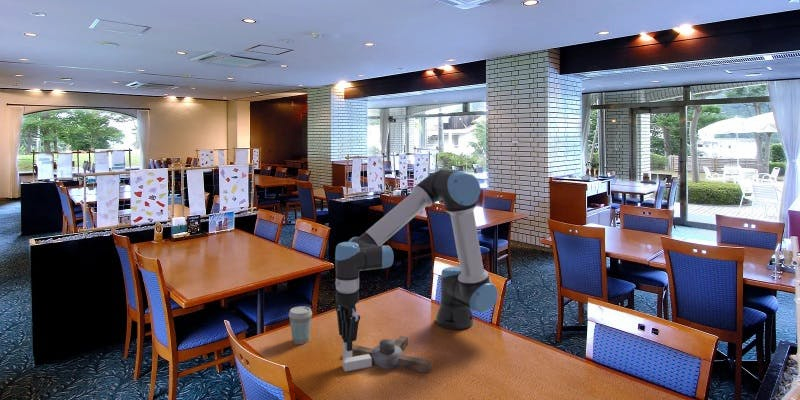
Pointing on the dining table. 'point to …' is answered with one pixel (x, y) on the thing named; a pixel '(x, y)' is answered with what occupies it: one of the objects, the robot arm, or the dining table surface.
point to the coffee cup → (300, 324)
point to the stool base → (392, 356)
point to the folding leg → (357, 362)
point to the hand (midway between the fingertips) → (347, 358)
